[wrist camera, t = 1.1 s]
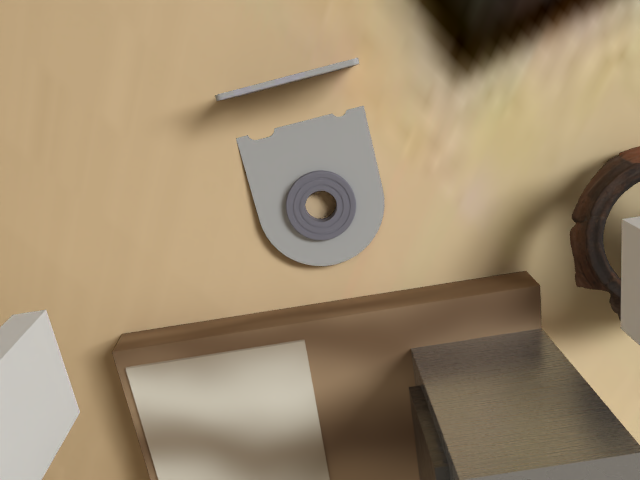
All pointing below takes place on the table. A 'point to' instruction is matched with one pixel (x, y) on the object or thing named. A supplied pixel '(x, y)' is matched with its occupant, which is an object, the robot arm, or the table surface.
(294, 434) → the brown wooden flat board
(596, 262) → the pottery mug
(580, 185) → the table surface
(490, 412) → the grey box
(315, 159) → the bracket
